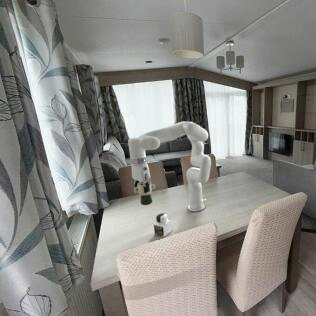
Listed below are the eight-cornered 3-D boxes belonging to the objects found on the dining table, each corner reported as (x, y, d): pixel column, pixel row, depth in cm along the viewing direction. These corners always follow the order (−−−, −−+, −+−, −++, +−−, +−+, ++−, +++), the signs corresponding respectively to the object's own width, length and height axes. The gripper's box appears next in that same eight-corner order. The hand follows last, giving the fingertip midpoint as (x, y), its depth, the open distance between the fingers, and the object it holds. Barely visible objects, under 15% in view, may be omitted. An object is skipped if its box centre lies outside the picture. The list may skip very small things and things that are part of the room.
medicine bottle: (154, 234, 119) (152, 216, 116) (162, 228, 125) (160, 211, 122) (164, 237, 116) (162, 219, 113) (172, 230, 123) (170, 213, 120)
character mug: (155, 199, 121) (153, 179, 117) (157, 203, 115) (155, 182, 112) (135, 203, 115) (132, 182, 112) (137, 208, 109) (134, 186, 106)
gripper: (155, 161, 106) (158, 191, 110) (135, 157, 114) (139, 185, 119) (142, 164, 100) (146, 196, 104) (122, 160, 108) (127, 190, 112)
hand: (142, 190), depth 111 cm, fingers closed on character mug, 7 cm apart
